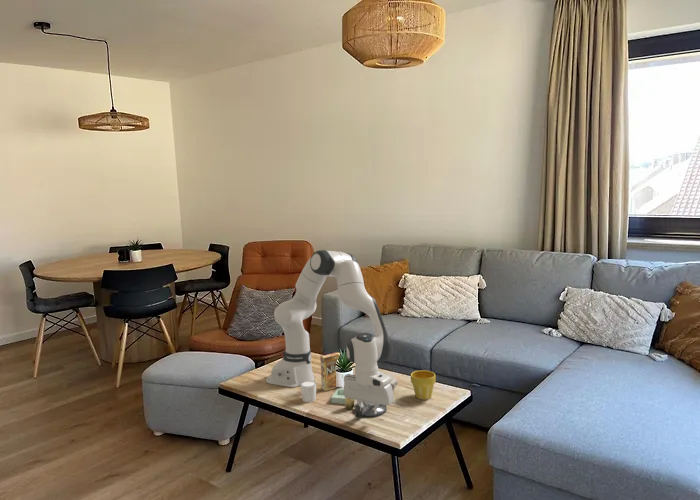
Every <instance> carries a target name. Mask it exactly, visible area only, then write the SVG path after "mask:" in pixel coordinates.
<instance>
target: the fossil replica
mask: <svg viewBox="0 0 700 500" xmlns="http://www.w3.org/2000/svg"><path fill="white" fill-rule="evenodd" d="M379 371H380V372H382V373H384V374H386V375H388V376H389V377H390V378H391V381H390V382H389V383H390V384H391V386H392V390H394V389H395V388H396V387H397V385H398V378H396V377H395V375H394V374H393V373H391V372H389V371H386V370H382V369H381V370H379Z"/></svg>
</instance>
